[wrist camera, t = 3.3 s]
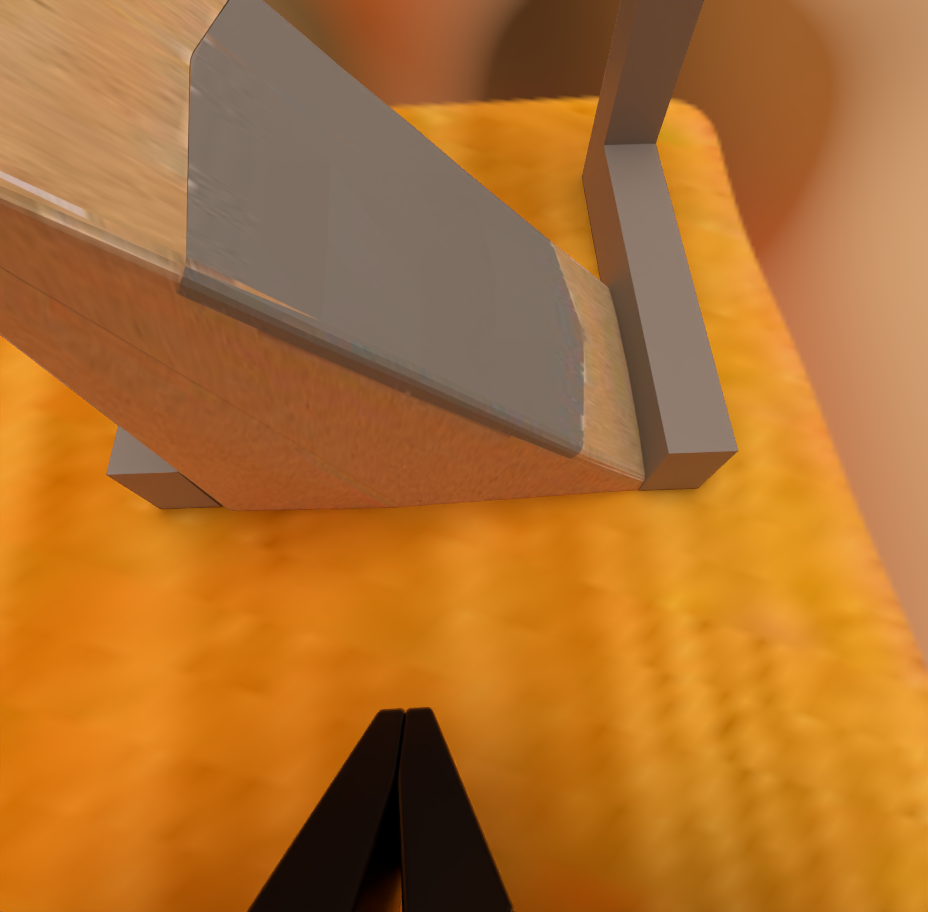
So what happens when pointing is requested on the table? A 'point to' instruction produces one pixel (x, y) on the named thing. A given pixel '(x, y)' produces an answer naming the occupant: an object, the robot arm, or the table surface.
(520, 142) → the table surface
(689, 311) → the grey frame stand
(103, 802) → the table surface
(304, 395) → the sandwich container
